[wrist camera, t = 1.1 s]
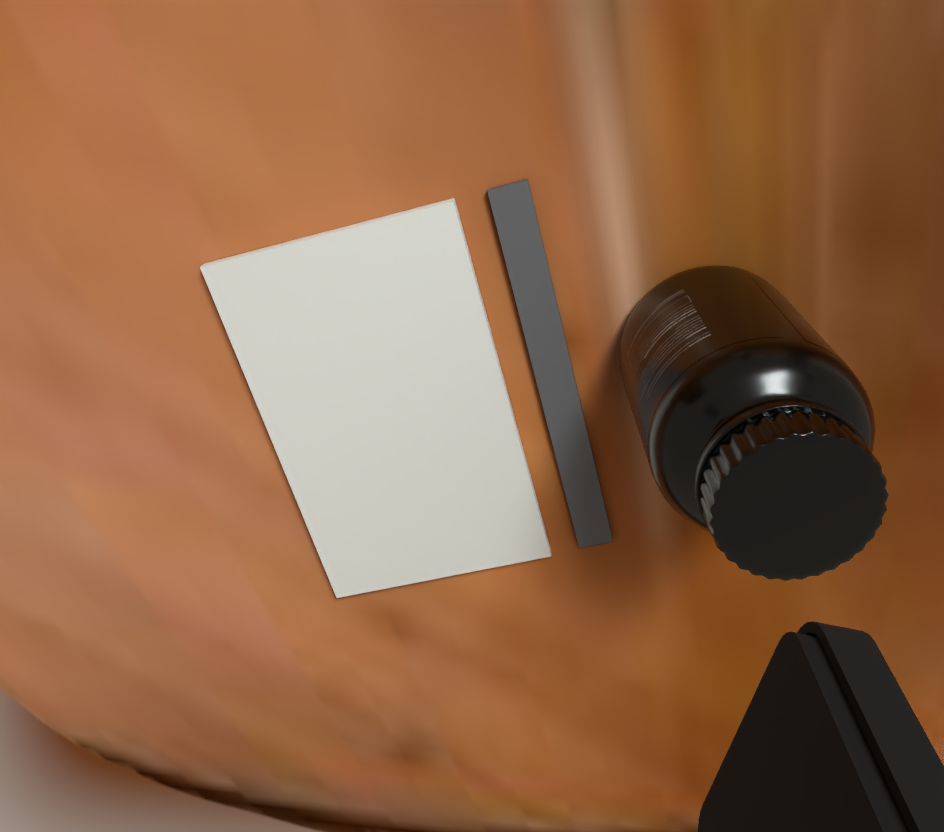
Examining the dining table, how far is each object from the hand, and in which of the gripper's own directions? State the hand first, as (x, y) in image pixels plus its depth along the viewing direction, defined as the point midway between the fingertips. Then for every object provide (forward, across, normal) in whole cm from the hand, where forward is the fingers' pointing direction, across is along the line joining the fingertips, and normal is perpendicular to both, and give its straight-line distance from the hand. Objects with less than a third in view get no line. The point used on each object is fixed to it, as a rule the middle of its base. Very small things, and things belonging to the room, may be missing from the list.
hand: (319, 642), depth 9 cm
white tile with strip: (+25, 0, +10) cm, 27 cm away
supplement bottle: (+25, -11, +4) cm, 28 cm away
